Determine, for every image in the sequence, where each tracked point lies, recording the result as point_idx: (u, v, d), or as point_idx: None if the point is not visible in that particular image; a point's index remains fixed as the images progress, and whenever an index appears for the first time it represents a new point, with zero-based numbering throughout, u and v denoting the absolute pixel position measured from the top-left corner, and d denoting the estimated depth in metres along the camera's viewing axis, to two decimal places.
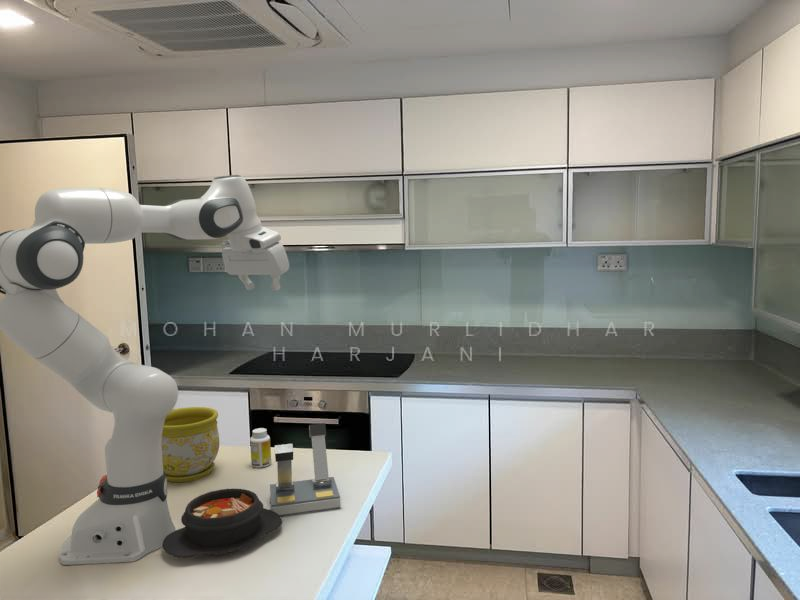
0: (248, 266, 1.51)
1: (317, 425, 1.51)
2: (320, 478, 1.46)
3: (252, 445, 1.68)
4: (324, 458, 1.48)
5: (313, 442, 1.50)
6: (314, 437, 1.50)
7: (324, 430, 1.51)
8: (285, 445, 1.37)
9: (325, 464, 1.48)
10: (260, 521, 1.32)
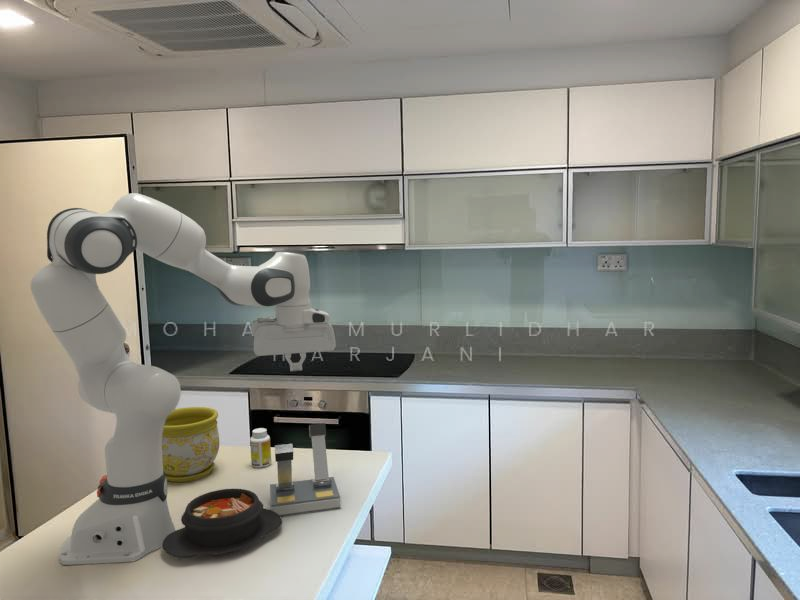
0: (292, 343, 1.48)
1: (317, 425, 1.51)
2: (320, 478, 1.46)
3: (252, 445, 1.68)
4: (324, 458, 1.48)
5: (313, 442, 1.50)
6: (314, 437, 1.50)
7: (324, 430, 1.51)
8: (285, 445, 1.37)
9: (325, 464, 1.48)
10: (260, 521, 1.32)
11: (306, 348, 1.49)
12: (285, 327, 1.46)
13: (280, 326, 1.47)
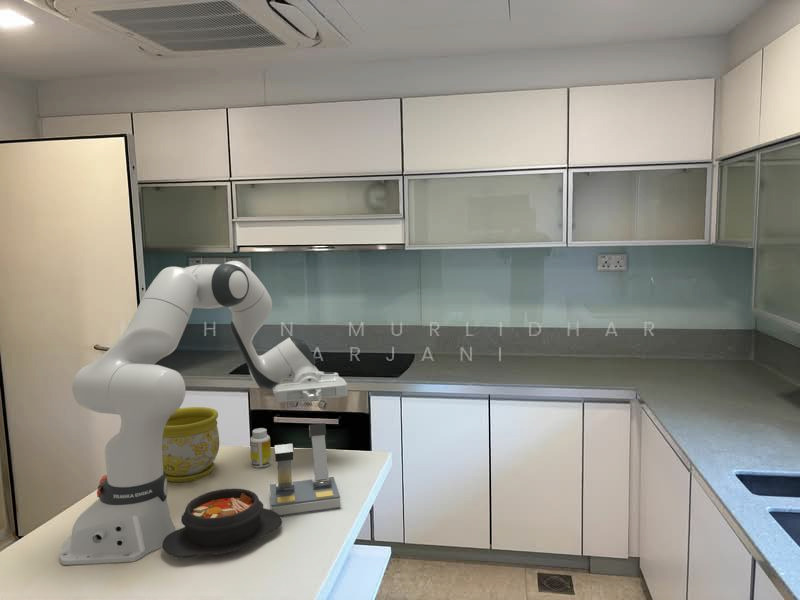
0: (307, 385, 1.66)
1: (317, 425, 1.51)
2: (320, 478, 1.46)
3: (252, 445, 1.68)
4: (324, 458, 1.48)
5: (313, 442, 1.50)
6: (314, 437, 1.50)
7: (324, 430, 1.51)
8: (285, 445, 1.37)
9: (325, 464, 1.48)
10: (260, 521, 1.32)
11: (320, 385, 1.65)
12: (301, 380, 1.70)
13: (297, 382, 1.70)
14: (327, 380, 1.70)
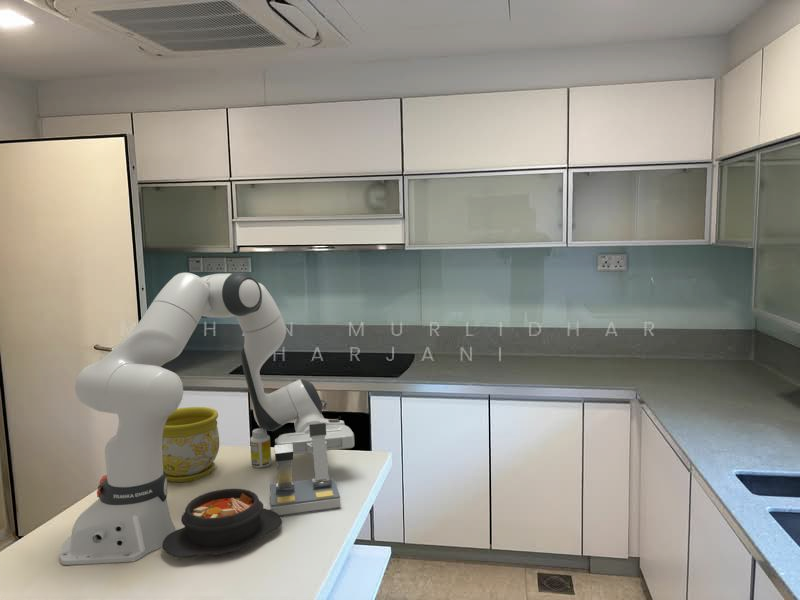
0: None
1: (317, 425, 1.51)
2: (320, 478, 1.46)
3: (252, 445, 1.68)
4: (324, 458, 1.48)
5: (313, 442, 1.49)
6: (314, 437, 1.50)
7: (324, 430, 1.51)
8: (285, 445, 1.37)
9: (325, 464, 1.48)
10: (260, 521, 1.32)
11: (326, 436, 1.57)
12: (305, 430, 1.61)
13: (301, 432, 1.61)
14: (332, 429, 1.62)
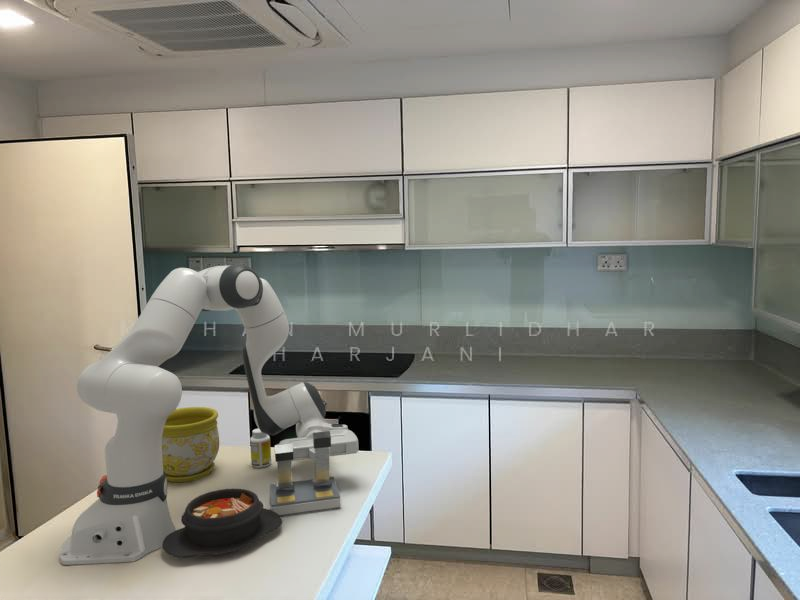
0: None
1: (322, 439, 1.40)
2: (321, 482, 1.45)
3: (252, 445, 1.68)
4: (326, 466, 1.44)
5: (316, 453, 1.42)
6: (318, 448, 1.41)
7: (329, 443, 1.41)
8: (285, 445, 1.37)
9: (327, 471, 1.44)
10: (260, 521, 1.32)
11: None
12: (307, 435, 1.55)
13: (303, 437, 1.55)
14: (336, 434, 1.56)
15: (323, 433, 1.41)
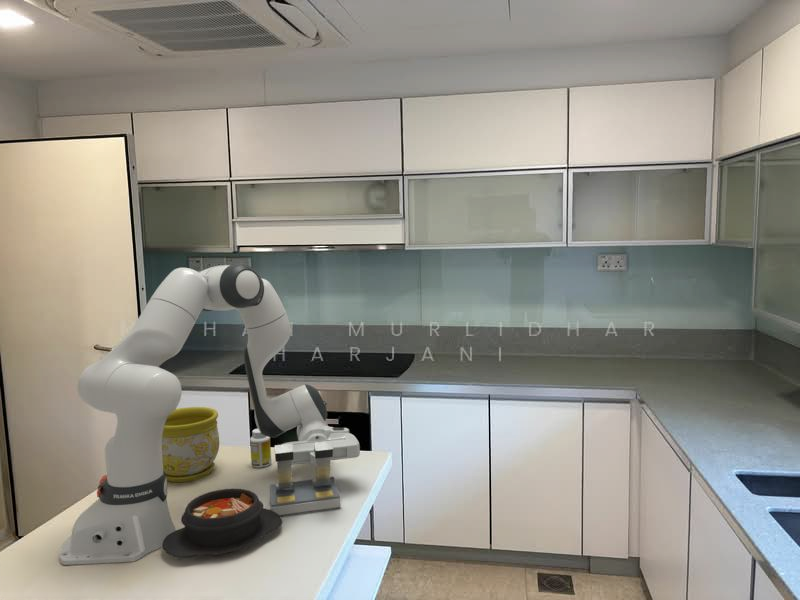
0: None
1: (324, 450, 1.37)
2: (321, 483, 1.45)
3: (252, 445, 1.68)
4: (327, 471, 1.43)
5: (317, 461, 1.40)
6: (319, 457, 1.39)
7: (331, 454, 1.38)
8: (285, 445, 1.37)
9: (327, 475, 1.44)
10: (260, 521, 1.32)
11: None
12: (308, 438, 1.54)
13: (303, 440, 1.54)
14: (337, 438, 1.54)
15: (325, 443, 1.38)
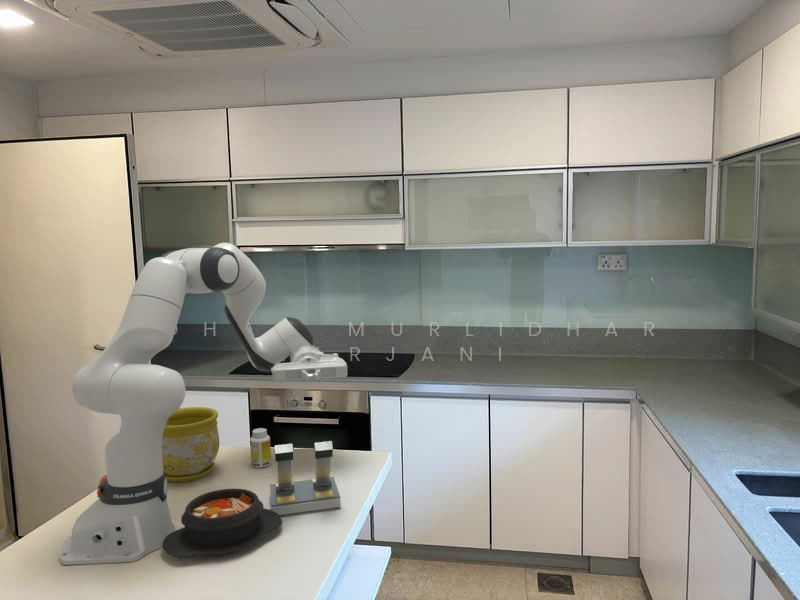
0: (306, 365, 1.63)
1: (324, 451, 1.37)
2: (321, 483, 1.45)
3: (252, 445, 1.68)
4: (327, 471, 1.43)
5: (317, 461, 1.40)
6: (319, 458, 1.39)
7: (331, 454, 1.38)
8: (285, 445, 1.37)
9: (327, 475, 1.44)
10: (260, 521, 1.32)
11: (320, 365, 1.62)
12: (300, 360, 1.67)
13: (296, 362, 1.67)
14: (326, 360, 1.67)
15: (325, 444, 1.38)
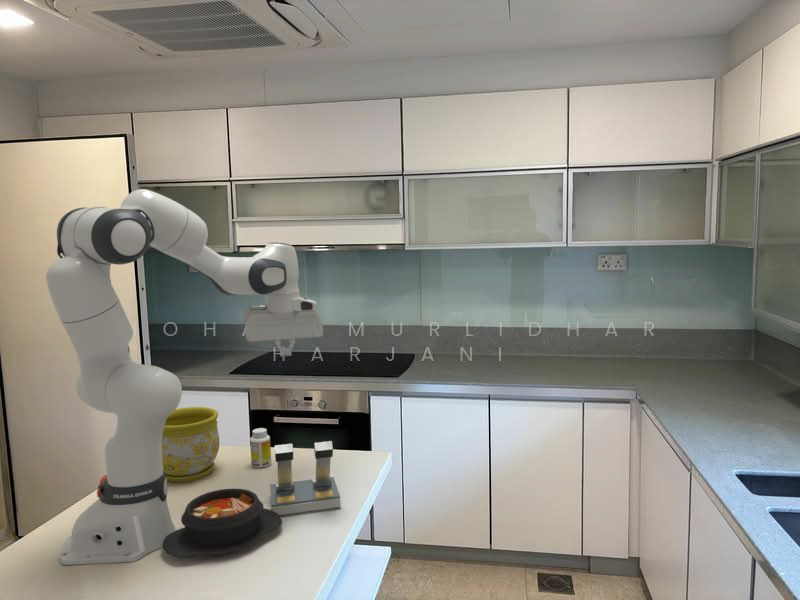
0: (281, 330, 1.57)
1: (324, 451, 1.37)
2: (321, 483, 1.45)
3: (252, 445, 1.68)
4: (327, 471, 1.43)
5: (317, 461, 1.40)
6: (319, 458, 1.39)
7: (331, 454, 1.38)
8: (285, 445, 1.37)
9: (327, 475, 1.44)
10: (260, 521, 1.32)
11: (295, 334, 1.58)
12: (275, 314, 1.55)
13: (270, 313, 1.56)
14: (303, 316, 1.58)
15: (325, 444, 1.38)
